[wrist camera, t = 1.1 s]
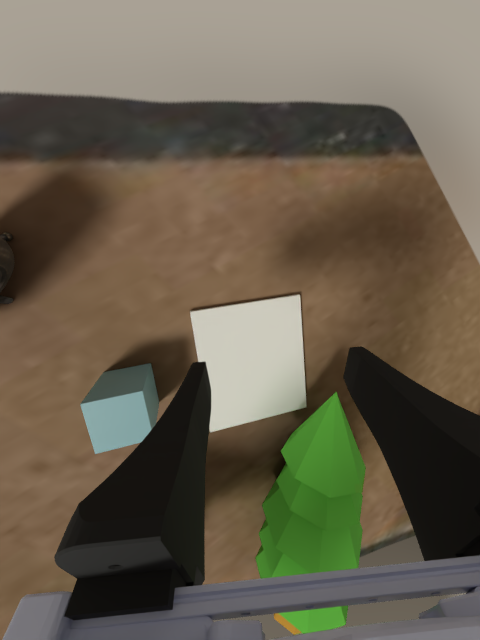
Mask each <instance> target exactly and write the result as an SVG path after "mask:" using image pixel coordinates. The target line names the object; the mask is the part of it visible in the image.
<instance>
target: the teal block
mask: <svg viewBox="0 0 480 640" xmlns="http://www.w3.org/2000/svg"><path fill="white" fill-rule="evenodd" d="M80 405H81V408H82V412H83V415H84V418H85V422H86V425H87V428H88V431H89V435H90V438H91V441H92V445H93V448H94V451H95V454H97V453H101V452H105V451H109V450H113V449H117V448H121V447H125V446H129V445H132V444H136V443H140V442H142V441H143V440H144V438H145V437H146V436H147V435H148V434H149V432H150V431H151V430H152V428H153V427H154V426H155V425H156V420H157V413H158V407H159V399H158V394H157V389H156V385H155V380H154V375H153V371H152V366H151V363H149V364H144V365H138V366H133V367H128V368H123V369H118V370H113V371H107V372H103V374H102V375H101V376H100V378H99V379H98V381H97V382H96V383H95V385H94V386H93V387H92V389H91V390H90V392H89V393H88V394H87V396H86V397H85V398H84V400H83V401H82V403H81V404H80Z"/></svg>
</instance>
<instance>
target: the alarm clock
mask: <svg viewBox="0 0 480 640" xmlns="http://www.w3.org/2000/svg"><path fill="white" fill-rule="evenodd" d="M12 238H13V237H12V235H11V234H9V233H7V232H4V233H3V234H2V235H0V292H1V291H2V290H3V288H4V287H5V286H6V284H7V283H8V281H9V279H10V277H11V274H12V272H13V269H14V255H13V252H12V250H11V248H10V246H9V244H8V243H7V242H6V241H10V240H12ZM5 240H6V241H5ZM12 301H13V299H12V298H10V297H5V296H0V303H3V304H9V303H12Z"/></svg>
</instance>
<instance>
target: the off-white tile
mask: <svg viewBox="0 0 480 640" xmlns="http://www.w3.org/2000/svg"><path fill="white" fill-rule="evenodd" d="M190 315H191V321H192V327H193V333H194V339H195V345H196V351H197V357H198V362H205V361H206V366H207V371H208V376H209V381H210V386H211V416H210V425H209V429H210V432H214V431H217V430H221V429H225V428H229V427H233V426H237V425H240V424H244V423H248V422H252V421H256V420H260V419H263V418H267V417H271V416H275V415H279V414H283V413H286V412H290V411H294V410H298V409H302V408H306V407H307V406H306V389H305V371H304V354H303V336H302V319H301V301H300V295H299V294H296V295H290V296H283V297H277V298H270V299H264V300H258V301H251V302H245V303H238V304H232V305H225V306H219V307H212V308H206V309H199V310H193V311H190Z"/></svg>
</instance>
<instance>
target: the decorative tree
mask: <svg viewBox="0 0 480 640" xmlns="http://www.w3.org/2000/svg"><path fill="white" fill-rule="evenodd" d="M281 453H282V455H283V457H284V459H285V461H286V464H285V466H284V468H283V469H282V471H281V473H280V475H279V476H278V478H277V479H276V481H275V483H274V484H273V486H272V488H271V490H270V492H269V493H268V495H267V497H266V499H265V501H264V502H263V504H262V507H263V510H264V513H265V516H266V520H265V522H264V524H263V526H262V528H261V530H260V532H259V536H260V539H261V543H262V545H261V547H260V549H259V552H258V554H257V556H256V562H257V566H258V570H259V574H260V578H261V579H262V578H272V577H281V576H291V575H300V574H309V573H319V572H328V571H337V570H347V569H356V568H358V565H359V556H360V547H361V539H362V527H361V524H360V514H361V505H362V497H363V496H362V494H361V493H362V491H363V484H364V477H365V469H366V467H365V465H364V462H363V460H362V457H361V454H360V452H359V449H358V447H357V444H356V442H355V439H354V436H353V434H352V431H351V429H350V426H349V423H348V421H347V418H346V416H345V413H344V411H343V408H342V405H341V403H340V400H339V398H338V395H337V392H335V393H334V394H333V395H332V396H331V397H330V398H329V399H328V400H327V401H326V402H325V403H324V404H323V405H322V406H321V407H319V408H318V409H317V410H316V411H315V412H314V413H313V414H312V415H311V416H310V417H309V418H308V419H307V420H306V421H305V422H304V423H303V424H301V425H300V426H299V427H298V428H297V429H296V430H295V431H294V432H293V433H292V434H291V435H290V437H289V439H288V440H287V442H286V443H285V445H284V447H283V448H282V450H281ZM347 610H348V606H339V607H330V608H321V609H312V610H302V611H293V612H284V613H275V614H274V619H275V620H276V621H278V622H279V623H280V624H281V625H283V626H284V627H285V628H286V629H288V630H289V631H290V632H291V633H293V634H294V635H296V634H300V633H303V634H305V633H311V632H317V631H324V630H330V629H334V628H337V627H340V626H343V625H345V624H346V618H347Z"/></svg>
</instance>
